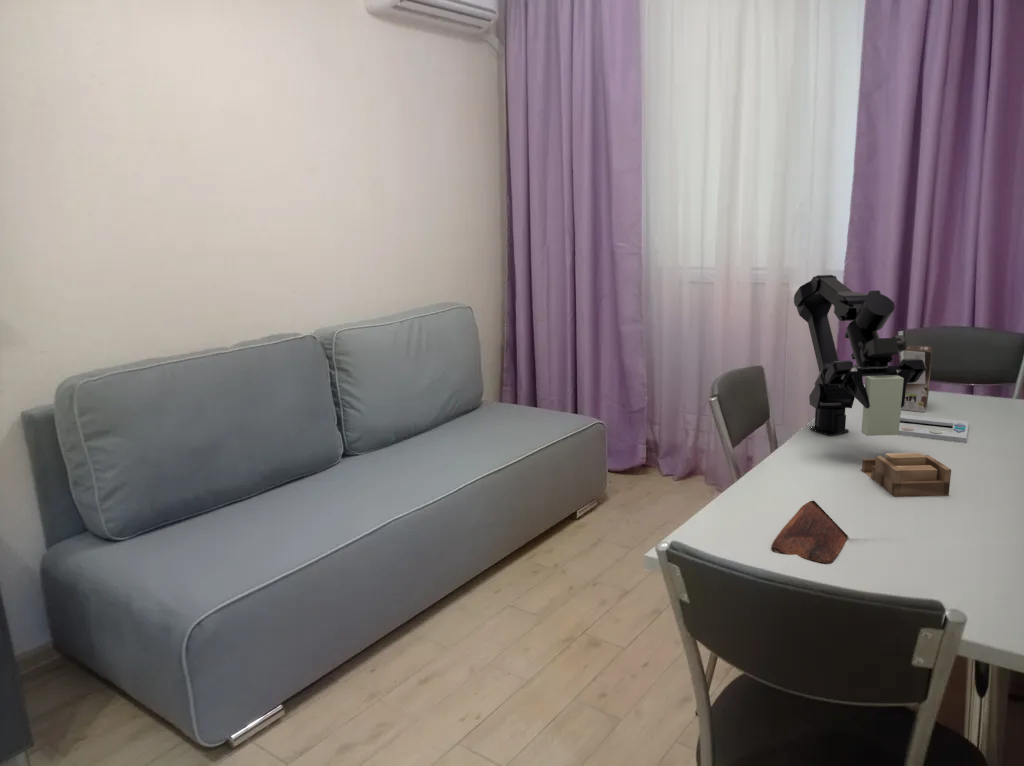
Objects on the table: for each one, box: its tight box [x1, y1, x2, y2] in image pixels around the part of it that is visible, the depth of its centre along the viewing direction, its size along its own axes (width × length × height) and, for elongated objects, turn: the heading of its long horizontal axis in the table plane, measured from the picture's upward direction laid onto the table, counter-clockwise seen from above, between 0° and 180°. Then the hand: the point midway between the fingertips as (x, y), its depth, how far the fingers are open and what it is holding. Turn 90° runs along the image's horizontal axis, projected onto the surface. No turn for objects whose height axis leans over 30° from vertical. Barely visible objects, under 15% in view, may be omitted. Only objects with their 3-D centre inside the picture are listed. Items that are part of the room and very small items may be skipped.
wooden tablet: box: [770, 500, 848, 565], centre depth 129 cm, size 26×2×10 cm
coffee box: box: [901, 344, 934, 413], centre depth 198 cm, size 9×6×16 cm
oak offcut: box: [884, 452, 926, 466], centre depth 144 cm, size 2×6×6 cm, turn 88°
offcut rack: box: [859, 454, 952, 498], centre depth 145 cm, size 15×10×6 cm, turn 178°
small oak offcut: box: [896, 465, 937, 481], centre depth 140 cm, size 2×6×4 cm, turn 88°
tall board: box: [860, 375, 904, 437], centre depth 153 cm, size 2×6×12 cm, turn 89°
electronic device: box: [898, 414, 970, 444], centre depth 180 cm, size 18×2×15 cm
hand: (885, 407), depth 152 cm, fingers closed on tall board, 6 cm apart
